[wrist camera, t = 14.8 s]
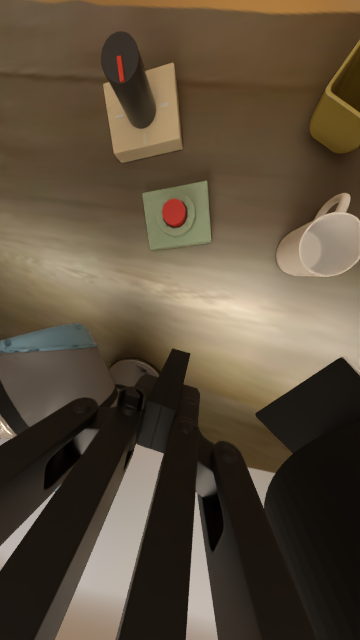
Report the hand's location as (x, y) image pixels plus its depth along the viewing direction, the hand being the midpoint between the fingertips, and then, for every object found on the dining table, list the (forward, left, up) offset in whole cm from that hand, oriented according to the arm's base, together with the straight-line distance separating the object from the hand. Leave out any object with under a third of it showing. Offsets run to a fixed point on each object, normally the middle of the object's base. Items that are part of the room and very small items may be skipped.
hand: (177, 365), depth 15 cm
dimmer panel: (0, +35, -26) cm, 44 cm away
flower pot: (+29, +23, -27) cm, 46 cm away
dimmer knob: (0, +35, -23) cm, 42 cm away
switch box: (+1, +18, -26) cm, 32 cm away
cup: (+22, +7, -27) cm, 35 cm away
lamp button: (+1, +18, -23) cm, 29 cm away
